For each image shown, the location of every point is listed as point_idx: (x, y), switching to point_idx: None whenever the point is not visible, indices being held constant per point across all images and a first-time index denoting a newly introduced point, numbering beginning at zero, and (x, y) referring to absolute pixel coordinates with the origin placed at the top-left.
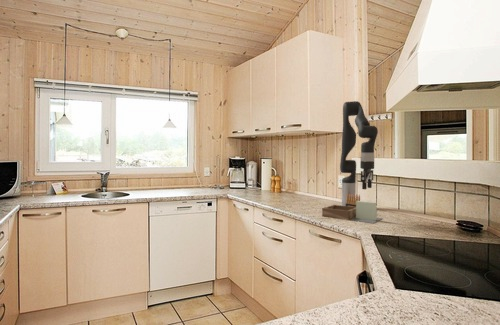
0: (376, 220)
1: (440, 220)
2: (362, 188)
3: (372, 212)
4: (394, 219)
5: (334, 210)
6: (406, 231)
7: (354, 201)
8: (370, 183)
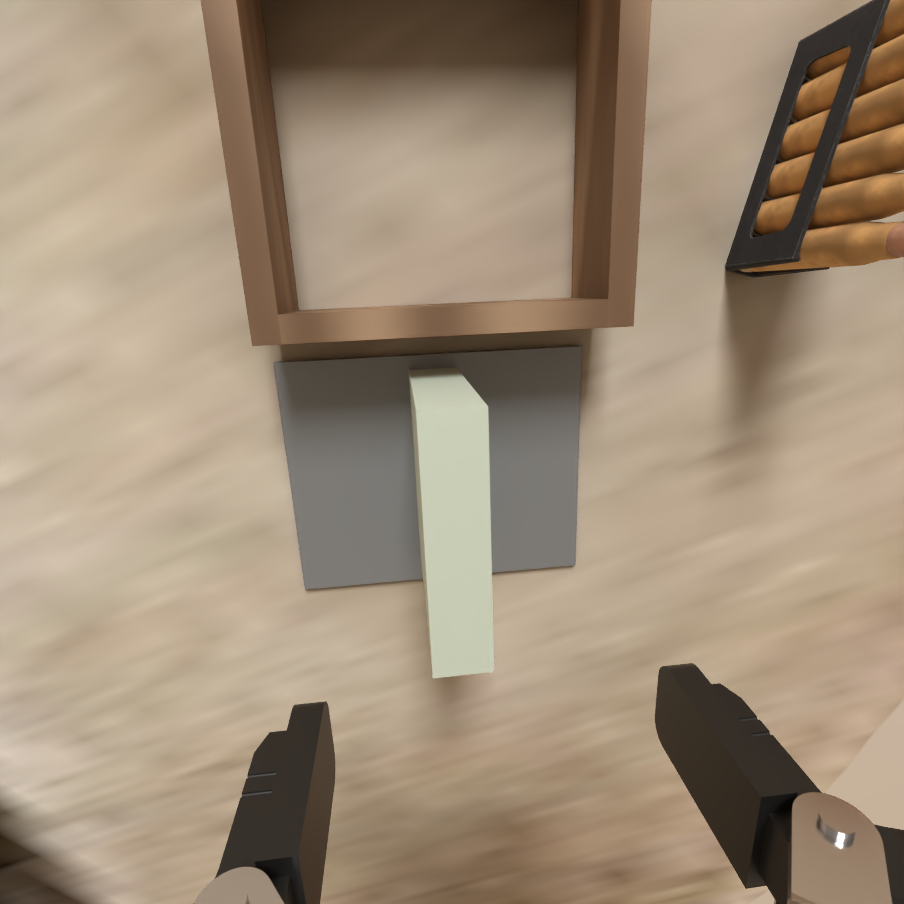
0: None
1: None
2: (292, 714)
3: (423, 575)
4: (613, 640)
5: (222, 116)
6: None
7: (873, 159)
8: (718, 816)
